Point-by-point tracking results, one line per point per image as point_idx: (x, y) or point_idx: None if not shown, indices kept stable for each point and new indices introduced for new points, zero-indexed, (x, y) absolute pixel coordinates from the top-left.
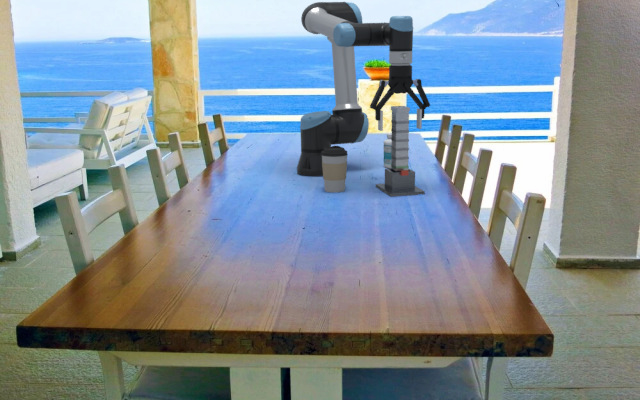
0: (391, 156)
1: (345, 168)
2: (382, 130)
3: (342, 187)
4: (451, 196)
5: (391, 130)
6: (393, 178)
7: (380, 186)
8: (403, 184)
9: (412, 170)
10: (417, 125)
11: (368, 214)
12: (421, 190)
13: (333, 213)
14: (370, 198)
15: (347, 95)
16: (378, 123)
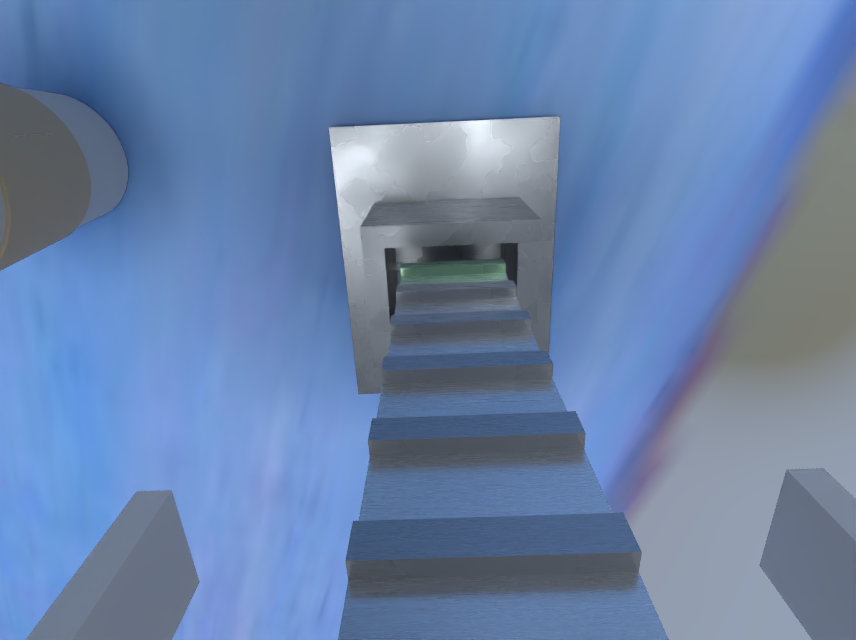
0: (397, 297)
1: (34, 240)
2: (194, 586)
3: (98, 215)
4: (644, 444)
5: (371, 432)
6: None
7: (344, 210)
8: None
9: (536, 335)
10: (805, 538)
11: (217, 606)
12: None
13: None
14: (257, 393)
15: None
16: (80, 592)
